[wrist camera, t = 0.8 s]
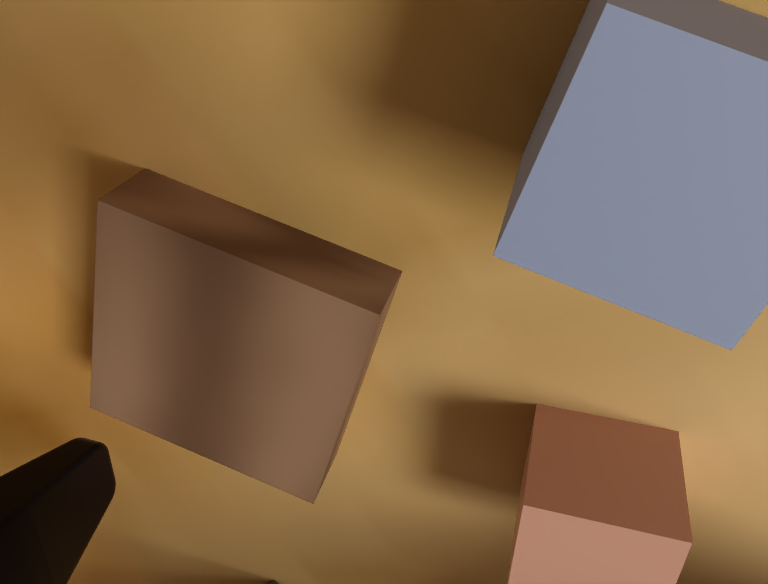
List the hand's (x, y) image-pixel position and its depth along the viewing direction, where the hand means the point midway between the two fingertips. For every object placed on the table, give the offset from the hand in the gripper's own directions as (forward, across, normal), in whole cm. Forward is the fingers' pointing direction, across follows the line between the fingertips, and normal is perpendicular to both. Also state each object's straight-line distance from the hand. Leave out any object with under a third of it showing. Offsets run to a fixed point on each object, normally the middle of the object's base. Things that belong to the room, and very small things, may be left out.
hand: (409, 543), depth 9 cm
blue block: (+12, -3, -3) cm, 13 cm away
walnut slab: (+13, +8, +7) cm, 17 cm away
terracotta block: (+13, -4, +10) cm, 16 cm away
